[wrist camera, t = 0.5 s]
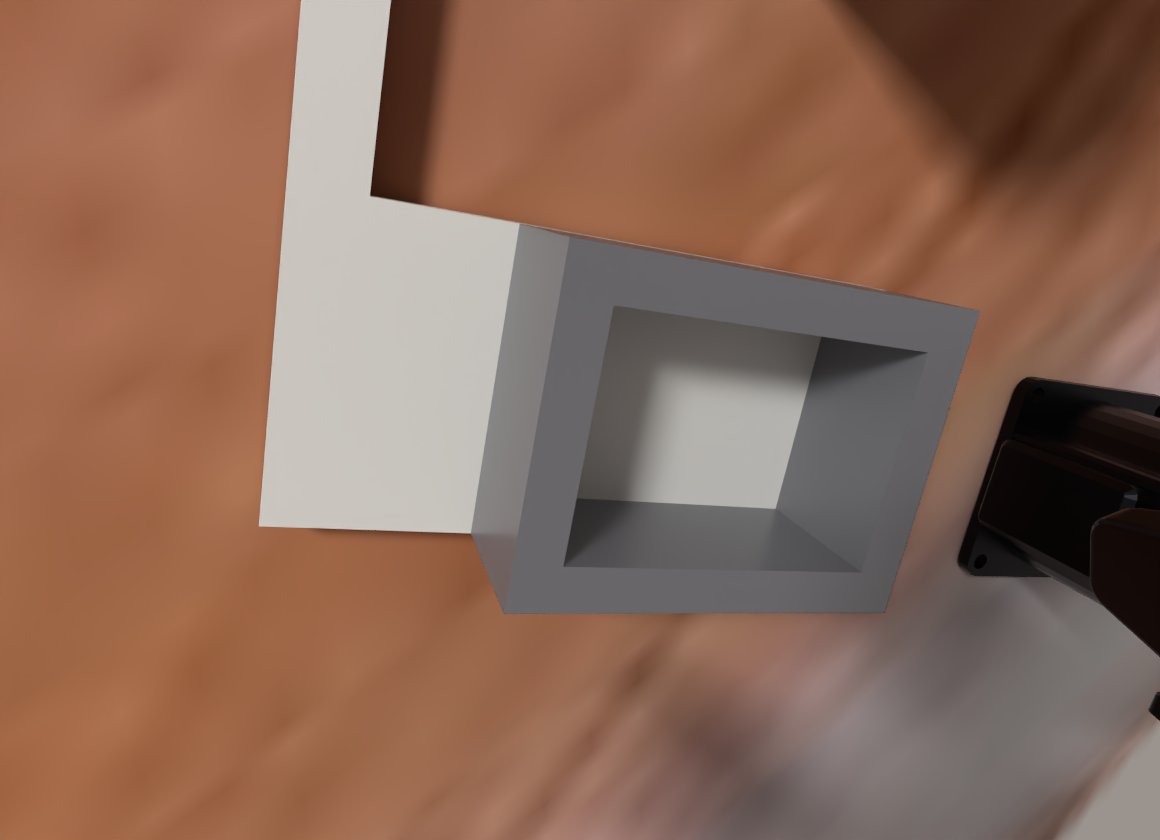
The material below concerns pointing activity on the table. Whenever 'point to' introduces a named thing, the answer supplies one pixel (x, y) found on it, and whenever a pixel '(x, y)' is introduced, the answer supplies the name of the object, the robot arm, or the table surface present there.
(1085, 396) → the robot arm
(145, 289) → the table surface
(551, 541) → the grey open storage bin
